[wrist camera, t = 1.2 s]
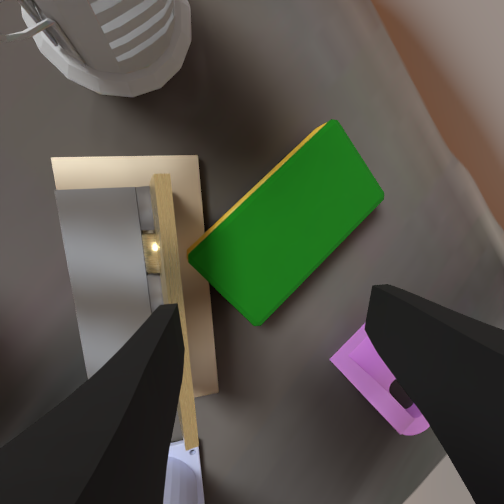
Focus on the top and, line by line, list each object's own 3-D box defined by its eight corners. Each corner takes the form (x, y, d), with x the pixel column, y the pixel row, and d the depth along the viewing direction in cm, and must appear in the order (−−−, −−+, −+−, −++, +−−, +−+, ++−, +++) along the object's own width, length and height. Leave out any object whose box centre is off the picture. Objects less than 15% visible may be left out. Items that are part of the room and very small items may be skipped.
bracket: (328, 358, 24) (382, 415, 17) (371, 315, 25) (439, 354, 18) (401, 434, 28) (468, 506, 21) (437, 395, 28) (515, 453, 21)
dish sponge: (365, 198, 22) (387, 196, 20) (248, 316, 21) (257, 329, 19) (317, 126, 20) (336, 115, 18) (182, 252, 19) (184, 258, 16)
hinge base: (57, 159, 17) (31, 149, 14) (197, 157, 19) (198, 148, 16) (100, 409, 20) (86, 442, 17) (217, 386, 22) (221, 411, 19)
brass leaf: (134, 173, 11) (182, 173, 12) (135, 187, 17) (167, 186, 18) (170, 457, 14) (209, 441, 14) (160, 382, 20) (187, 374, 20)
